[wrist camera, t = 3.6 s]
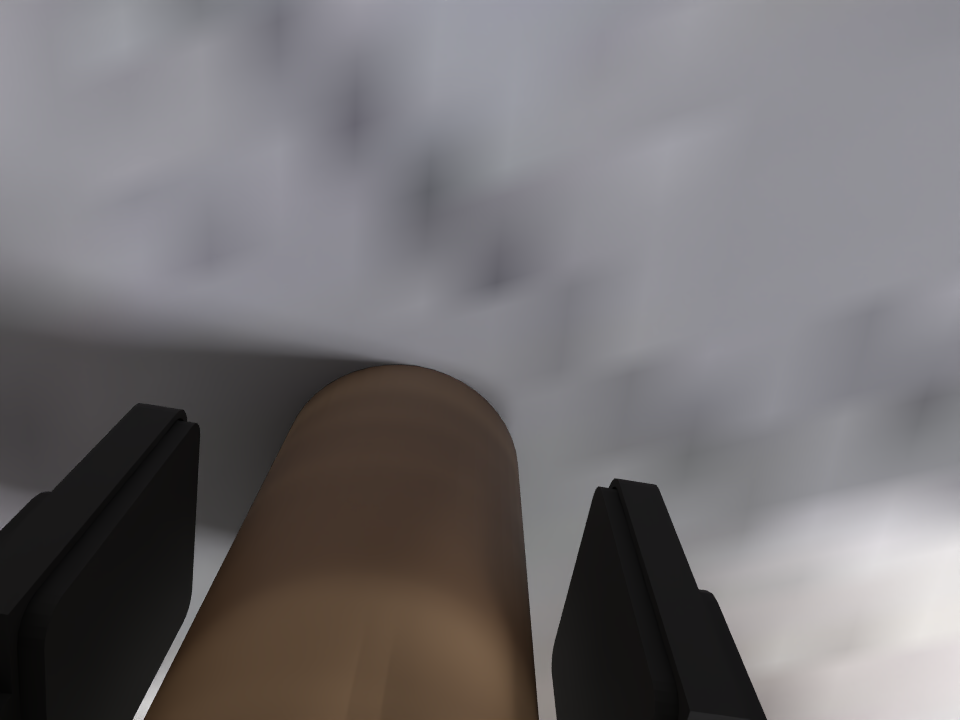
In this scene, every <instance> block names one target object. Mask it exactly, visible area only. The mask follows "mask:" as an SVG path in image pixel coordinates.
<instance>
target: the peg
mask: <svg viewBox="0 0 960 720" xmlns="http://www.w3.org/2000/svg"><path fill="white" fill-rule="evenodd" d="M144 720H539V715H538V703H537V691H536V679H535V667H534V655H533V642H532V630H531V618H530V606H529V594H528V582H527V570H526V558H525V545H524V533H523V521H522V509H521V497H520V485H519V473H518V462H517V456H516V450H515V447H514V444H513V441H512V438H511V435H510V433H509V431H508V429H507V427H506V425H505V423H504V422H503V420H502V419H501V417H500V416H499V414H498V413H497V412H496V411H495V409H494V408H493V407H492V406H491V405H490V404H489V403H488V401H486V400H485V399H484V398H483V397H482V396H481V395H480V394H478V393H477V392H476V391H475V390H473V389H472V388H470V387H469V386H467V385H466V384H464V383H463V382H461V381H459V380H457V379H455V378H453V377H451V376H449V375H446V374H443V373H440V372H438V371H435V370H431V369H427V368H422V367H418V366H408V365H383V366H376V367H369V368H366V369H362V370H358V371H355V372H352V373H350V374H347V375H345V376H343V377H340V378H339V379H337V380H335V381H333V382H332V383H330V384H328V385H327V386H325V387H324V388H323V389H321V390H320V391H319V392H318V393H316V394H315V395H314V396H313V397H312V398H311V399H310V400H309V401H308V402H307V403H306V404H305V406H304V407H303V409H302V410H301V411H300V413H299V414H298V416H297V417H296V419H295V421H294V423H293V425H292V427H291V429H290V431H289V433H288V435H287V437H286V439H285V441H284V443H283V445H282V447H281V449H280V451H279V453H278V455H277V457H276V459H275V461H274V462H273V464H272V466H271V468H270V470H269V472H268V474H267V476H266V478H265V480H264V482H263V484H262V486H261V488H260V490H259V492H258V494H257V496H256V498H255V500H254V502H253V504H252V506H251V508H250V510H249V512H248V514H247V516H246V518H245V520H244V522H243V524H242V526H241V528H240V530H239V532H238V534H237V536H236V538H235V540H234V542H233V544H232V546H231V548H230V550H229V552H228V554H227V556H226V558H225V560H224V561H223V563H222V565H221V567H220V569H219V571H218V573H217V575H216V577H215V579H214V581H213V583H212V585H211V587H210V589H209V591H208V593H207V595H206V597H205V599H204V601H203V603H202V605H201V607H200V609H199V611H198V613H197V615H196V617H195V619H194V621H193V623H192V625H191V627H190V629H189V631H188V633H187V635H186V637H185V639H184V641H183V643H182V645H181V647H180V649H179V651H178V653H177V655H176V657H175V659H174V661H173V662H172V664H171V666H170V668H169V670H168V672H167V674H166V676H165V678H164V680H163V682H162V684H161V686H160V688H159V690H158V692H157V694H156V696H155V698H154V700H153V702H152V704H151V706H150V708H149V710H148V712H147V714H146V716H145V718H144Z"/></svg>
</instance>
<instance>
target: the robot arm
mask: <svg viewBox="0 0 960 720" xmlns="http://www.w3.org/2000/svg"><path fill="white" fill-rule="evenodd" d="M199 445H200V428H199V425H198V423H192V422H187V416H186V413H185V411H184V410H180V409H174V408H167V407H161V406H155V405H148V404H142V403H138V404H137V405H135V406H134V407H133V408H132V409H131V410H130V411H129V412H128V413H127V414H126V415H125V416H124V417H123V418H122V419H121V421H120V422H119V423H118V424H117V425H116V426H115V427H114V428H113V429H112V430H111V431H110V432H109V433H108V434H107V435H106V436H105V437H104V438H103V439H102V440H101V441H100V442H99V443H98V444H97V445H96V446H95V447H94V448H93V449H92V450H91V451H90V452H89V453H88V455H87V456H86V457H85V458H84V459H83V460H82V461H81V462H80V463H79V464H78V465H77V466H76V467H75V468H74V469H73V470H72V471H71V472H70V473H69V474H68V475H67V476H66V477H65V478H64V479H63V480H62V481H61V482H60V483H59V484H58V485H57V486H56V488H55V489H54V490H53V491H52V492H49V491H48V492H42V493H40V494H38V495H37V496H36V497H34V498H33V499H32V500H31V501H30V502H29V503H28V504H27V505H26V506H25V507H24V508H23V509H22V510H21V511H20V512H19V513H18V514H17V515H16V516H15V517H14V518H13V519H12V520H11V521H10V522H9V523H8V524H7V525H6V526H5V527H4V528H3V529H2V530H1V531H0V720H133V718H134V716H135V714H136V712H137V710H138V708H139V706H140V704H141V702H142V700H143V698H144V697H145V695H146V693H147V691H148V689H149V687H150V685H151V683H152V681H153V679H154V677H155V675H156V674H157V672H158V670H159V668H160V666H161V664H162V662H163V660H164V658H165V656H166V654H167V652H168V651H169V649H170V647H171V645H172V643H173V641H174V639H175V637H176V635H177V633H178V631H179V629H180V628H181V626H182V624H183V622H184V619H185V617H186V615H187V612H188V609H189V605H190V600H191V595H192V581H193V562H194V542H195V523H196V503H197V484H198V464H199ZM552 679H553V688H554V697H555V707H556V716H557V720H767V719H766V716H765V714H764V711H763V709H762V707H761V704H760V702H759V700H758V697H757V695H756V692H755V690H754V688H753V685H752V683H751V680H750V678H749V676H748V673H747V671H746V669H745V666H744V664H743V661H742V659H741V657H740V654H739V652H738V650H737V647H736V645H735V642H734V640H733V638H732V635H731V633H730V631H729V628H728V626H727V623H726V621H725V619H724V616H723V614H722V612H721V609H720V607H719V604H718V602H717V600H716V599H715V597H714V595H713V594H712V593H710V592H708V591H706V590H699V589H698V587H697V584H696V582H695V579H694V577H693V574H692V572H691V569H690V566H689V564H688V561H687V559H686V556H685V554H684V551H683V549H682V546H681V544H680V541H679V539H678V536H677V534H676V531H675V529H674V526H673V523H672V521H671V518H670V516H669V513H668V511H667V508H666V506H665V503H664V501H663V498H662V496H661V493H660V491H659V488H658V487H657V485H654V484H648V483H641V482H635V481H629V480H622V479H616V478H615V479H614V480H613V481H612V482H611V484H610V486H609V488H605V487H597V489H596V491H595V493H594V496H593V499H592V503H591V507H590V511H589V514H588V518H587V522H586V526H585V529H584V533H583V537H582V541H581V545H580V548H579V552H578V556H577V560H576V563H575V567H574V571H573V575H572V579H571V582H570V586H569V590H568V594H567V597H566V601H565V605H564V609H563V612H562V616H561V620H560V624H559V628H558V631H557V635H556V639H555V643H554V647H553V654H552Z"/></svg>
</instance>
